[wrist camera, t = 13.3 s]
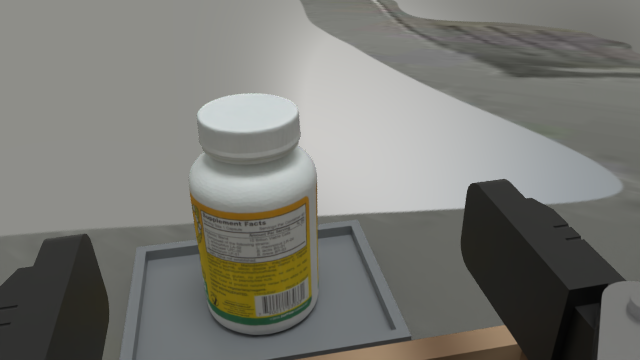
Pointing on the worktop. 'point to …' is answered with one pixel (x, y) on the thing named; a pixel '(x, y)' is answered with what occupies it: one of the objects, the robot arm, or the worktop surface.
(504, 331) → the wooden frame
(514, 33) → the worktop surface
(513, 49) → the worktop surface
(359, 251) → the tray
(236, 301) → the supplement bottle
